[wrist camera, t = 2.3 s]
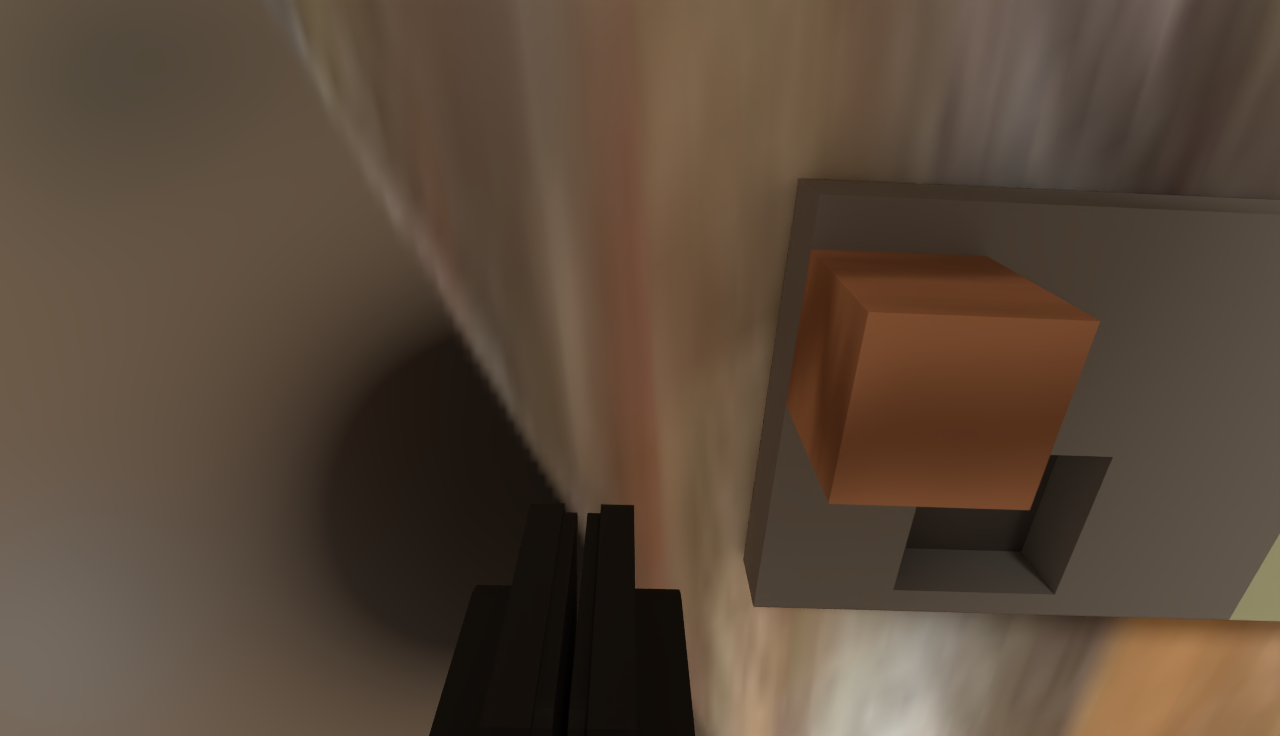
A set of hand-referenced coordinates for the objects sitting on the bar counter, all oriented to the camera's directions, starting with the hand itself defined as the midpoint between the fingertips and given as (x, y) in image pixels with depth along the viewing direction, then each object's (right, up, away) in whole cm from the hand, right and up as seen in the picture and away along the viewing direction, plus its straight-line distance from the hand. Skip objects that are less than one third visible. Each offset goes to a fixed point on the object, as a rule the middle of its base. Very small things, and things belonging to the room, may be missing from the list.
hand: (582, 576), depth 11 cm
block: (+8, +4, +9) cm, 13 cm away
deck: (+18, +2, +13) cm, 23 cm away
